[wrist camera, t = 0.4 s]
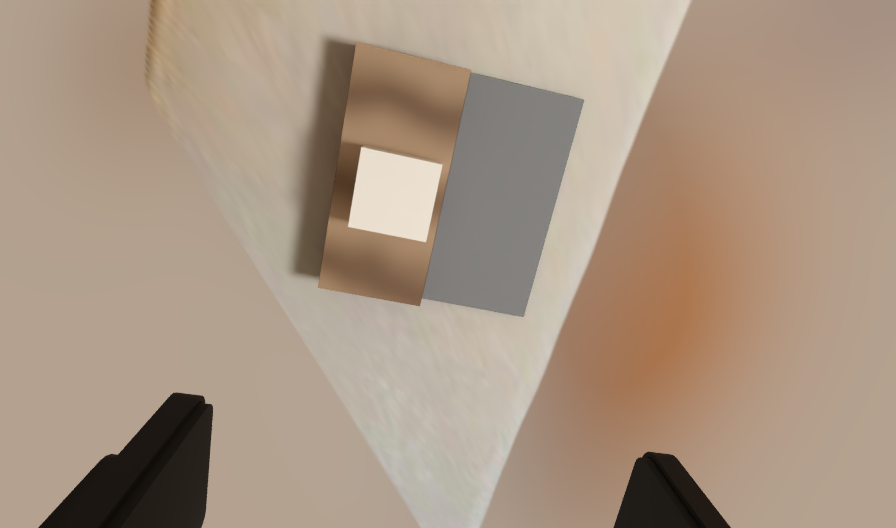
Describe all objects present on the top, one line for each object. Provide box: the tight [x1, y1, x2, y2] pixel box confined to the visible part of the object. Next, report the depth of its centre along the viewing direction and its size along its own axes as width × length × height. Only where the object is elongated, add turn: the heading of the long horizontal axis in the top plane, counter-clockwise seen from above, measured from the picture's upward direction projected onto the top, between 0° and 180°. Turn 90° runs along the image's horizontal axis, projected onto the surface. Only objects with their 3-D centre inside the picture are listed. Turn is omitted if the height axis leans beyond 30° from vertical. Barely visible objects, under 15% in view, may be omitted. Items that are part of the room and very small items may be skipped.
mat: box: [422, 73, 584, 317], centre depth 42 cm, size 19×9×1 cm, turn 168°
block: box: [348, 145, 443, 242], centre depth 38 cm, size 6×6×2 cm
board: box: [318, 42, 471, 306], centre depth 40 cm, size 19×8×2 cm, turn 168°
